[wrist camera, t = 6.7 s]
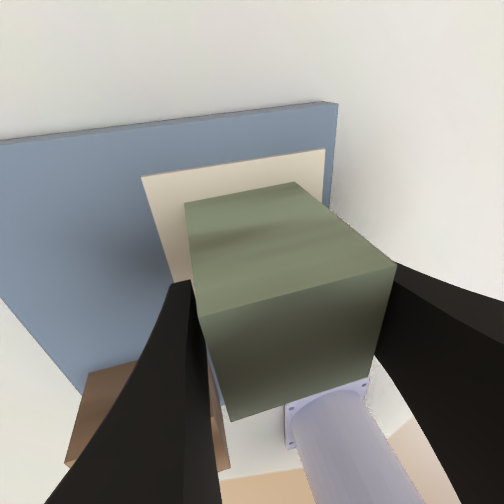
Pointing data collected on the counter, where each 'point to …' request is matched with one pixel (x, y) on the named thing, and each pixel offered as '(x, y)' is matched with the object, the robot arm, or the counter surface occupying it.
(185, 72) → the counter surface
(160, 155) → the board
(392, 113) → the counter surface
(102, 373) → the walnut block
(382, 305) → the sage block
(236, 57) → the counter surface
